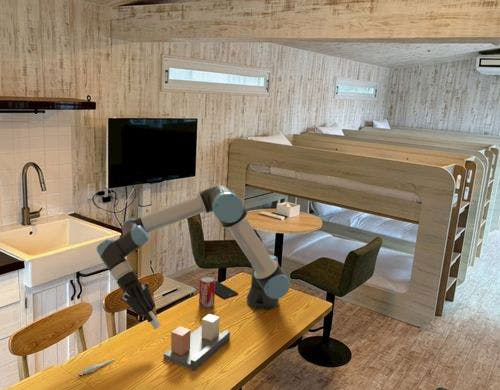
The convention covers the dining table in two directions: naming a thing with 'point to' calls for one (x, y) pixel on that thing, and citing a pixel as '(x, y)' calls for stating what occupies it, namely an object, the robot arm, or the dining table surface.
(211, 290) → the soda can
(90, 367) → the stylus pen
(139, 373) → the dining table surface
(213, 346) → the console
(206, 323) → the key cream
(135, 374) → the dining table surface
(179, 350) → the reddish pink block
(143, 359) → the dining table surface
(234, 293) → the cell phone
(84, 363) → the dining table surface
